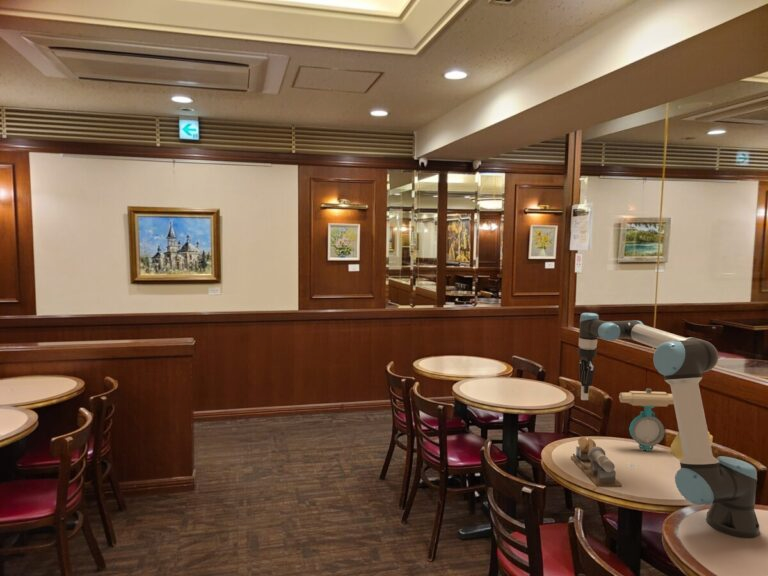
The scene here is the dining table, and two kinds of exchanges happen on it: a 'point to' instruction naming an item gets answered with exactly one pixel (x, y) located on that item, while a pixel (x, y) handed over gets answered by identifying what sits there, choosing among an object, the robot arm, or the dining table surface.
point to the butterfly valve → (646, 416)
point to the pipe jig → (598, 468)
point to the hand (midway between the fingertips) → (584, 399)
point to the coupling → (584, 448)
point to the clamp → (677, 446)
